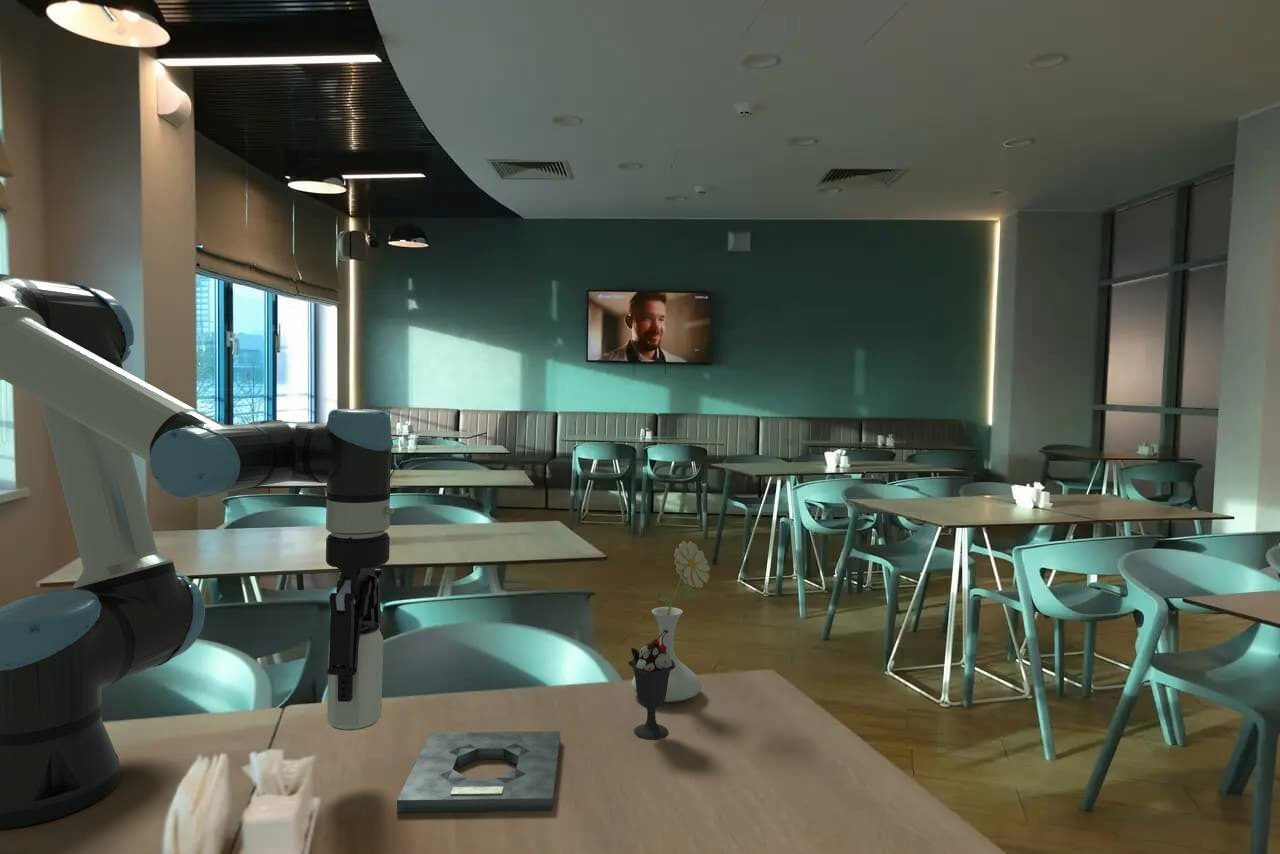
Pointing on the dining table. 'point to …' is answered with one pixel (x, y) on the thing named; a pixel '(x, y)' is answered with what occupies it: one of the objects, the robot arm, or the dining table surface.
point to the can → (363, 679)
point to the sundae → (651, 684)
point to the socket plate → (513, 791)
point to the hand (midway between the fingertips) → (355, 712)
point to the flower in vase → (693, 573)
